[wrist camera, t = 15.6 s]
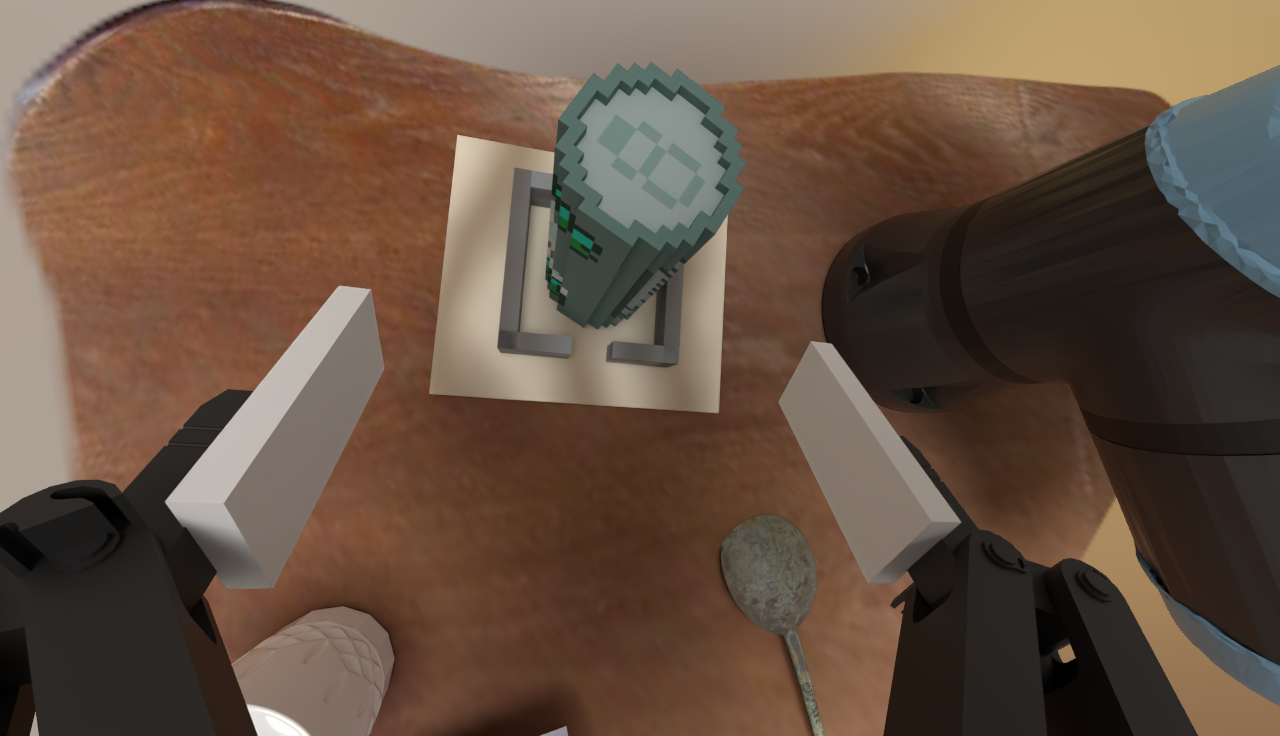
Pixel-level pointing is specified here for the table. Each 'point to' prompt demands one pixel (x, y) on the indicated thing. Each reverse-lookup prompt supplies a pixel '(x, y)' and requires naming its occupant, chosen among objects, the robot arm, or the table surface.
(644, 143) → the can
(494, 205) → the board with grey rim
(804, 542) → the soupspoon
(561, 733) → the wedge on round base
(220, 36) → the table surface
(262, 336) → the table surface
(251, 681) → the white cup
